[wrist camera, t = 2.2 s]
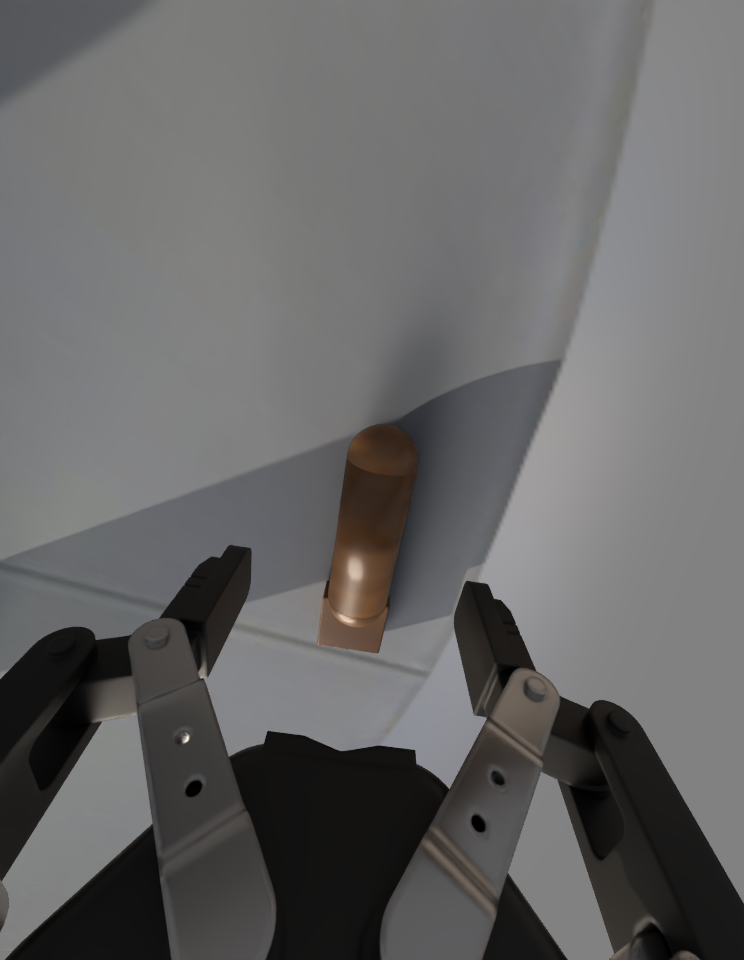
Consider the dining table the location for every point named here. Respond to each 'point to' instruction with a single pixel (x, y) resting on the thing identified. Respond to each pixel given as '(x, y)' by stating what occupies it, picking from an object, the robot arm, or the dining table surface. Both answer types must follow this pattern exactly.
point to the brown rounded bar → (368, 537)
